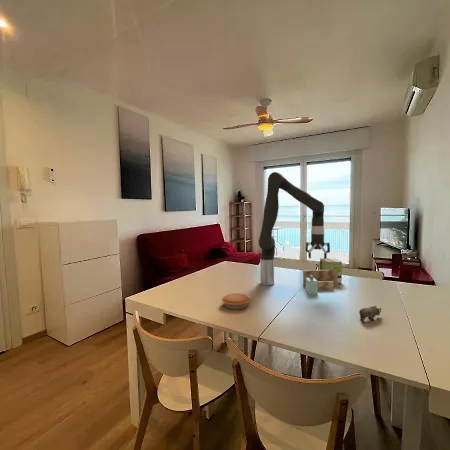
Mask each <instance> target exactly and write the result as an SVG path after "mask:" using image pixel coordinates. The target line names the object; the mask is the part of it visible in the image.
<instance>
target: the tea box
mask: <svg viewBox="0 0 450 450" xmlns="http://www.w3.org/2000/svg"><path fill="white" fill-rule="evenodd" d="M342 268H343V261H341V260H339V259H336V258H334V257H327V258H325V259H324V257H320V258H319V270H338V284H342V281H343V269H342Z"/></svg>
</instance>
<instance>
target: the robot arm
mask: <svg viewBox="0 0 450 450" xmlns="http://www.w3.org/2000/svg"><path fill="white" fill-rule="evenodd" d="M280 190H282V191H284V192H286V193H287V194H289V195H290V197H293V198H294V199H295V200H296V201H298V202H300V204H303V205H305V206H306V207H307V208H308V209H310V210H311V211H312V217H311V229H310V234H311V235H310V238H311V239H310V242H309V241H306V242H305V252H306V253H308V258H309V260H311V259H312V253H311V252H312V251H314V250H322V251H323V258H324V259H325V258H328V257H327V256H328V255H327V254H329V253H331V248H330V247H331V246H330V242H325V225H324V224H325V220H324V214H325V204H324V203H323V202H322V201H320V200H319V199H317V198H315V197H313V196H312V195H311V194H310V193H308V192H307V191H305V190H303V189H302V188H300V187H298V186H296V185H295V184H293V183H291V181H289V180H287V179H286V178H285V177H284V175H282V174H281V173H280V172H277V171H273V172H271V173H270V174H269V176H268V178H267V191H266V198H265V203H264V209H263V216H262V217H263V218H262V226H261V230H260V234H259V238H258V245H259V248H260V249H261V253H260V256H259V257H260V261H259V262H260V264H259V265H260V267H259V268H260V269H259V282H260V285H261V286H274V285H275V255H276V254H275V253H276V252H275V251H276V241H275V238H274V237H273V236H272V234H273V229H274V227H275V224H276V223H277V222H276V221H277V219H278V215H279V203H280V202H279V191H280ZM309 246H310V249H309ZM325 246H326V247H327V250H326V249H325V248H324V247H325Z"/></svg>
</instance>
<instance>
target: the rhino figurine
mask: <svg viewBox="0 0 450 450" xmlns="http://www.w3.org/2000/svg"><path fill="white" fill-rule="evenodd" d="M381 312H382V308H381V307H379V308H378V307H377V305H372V306H369V307H363V308H360V309H359V316H360V317H359V318H360V319H359V320H360V321H361V324H366V321H365V320H366V319H369V320H370V319H371V320H370V321H372V322H374V321H376V320H375V317H376V316H380V314H381Z"/></svg>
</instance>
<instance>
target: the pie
mask: <svg viewBox="0 0 450 450" xmlns="http://www.w3.org/2000/svg"><path fill="white" fill-rule="evenodd" d="M251 300H252V299H251V297H250V296H248V295H246V294H244V293H238V292H237V293H229V294H227V295H225V296H222V298H221V301H222V303H223V304H224V306H225V307H226V308H227V309H229V310H242V309H245V308H247V306H248V305H249V303H250V302H251Z"/></svg>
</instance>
